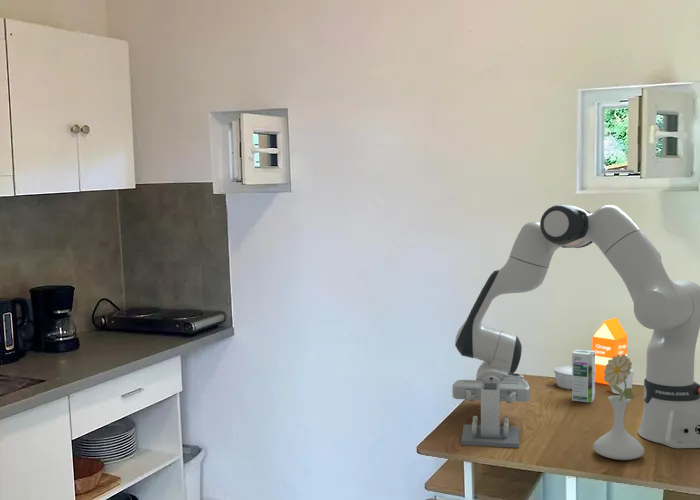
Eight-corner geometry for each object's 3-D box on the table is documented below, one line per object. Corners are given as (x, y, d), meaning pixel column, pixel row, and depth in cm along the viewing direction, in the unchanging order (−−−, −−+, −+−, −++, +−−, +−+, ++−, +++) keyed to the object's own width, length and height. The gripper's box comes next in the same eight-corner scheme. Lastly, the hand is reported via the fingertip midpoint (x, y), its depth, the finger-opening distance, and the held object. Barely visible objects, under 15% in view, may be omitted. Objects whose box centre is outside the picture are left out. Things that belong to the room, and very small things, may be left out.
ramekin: (586, 392, 235) (586, 375, 235) (549, 388, 241) (549, 371, 240) (594, 384, 245) (594, 367, 244) (559, 380, 250) (559, 364, 250)
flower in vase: (587, 447, 188) (588, 346, 186) (635, 447, 187) (637, 345, 185) (601, 467, 175) (603, 358, 173) (653, 467, 174) (655, 358, 172)
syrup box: (571, 401, 226) (571, 352, 225) (575, 396, 232) (576, 348, 230) (591, 403, 224) (592, 354, 222) (595, 398, 229) (595, 350, 228)
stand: (518, 430, 201) (518, 413, 200) (518, 447, 188) (518, 429, 188) (464, 428, 204) (464, 411, 203) (460, 444, 191) (460, 427, 191)
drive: (499, 429, 198) (499, 383, 197) (499, 437, 192) (499, 389, 191) (481, 428, 199) (481, 382, 198) (480, 436, 193) (480, 388, 192)
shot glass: (630, 396, 230) (631, 373, 230) (607, 393, 234) (607, 370, 233) (635, 390, 236) (635, 368, 235) (612, 387, 240) (612, 365, 239)
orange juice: (591, 381, 248) (592, 319, 246) (604, 376, 254) (605, 316, 252) (614, 385, 242) (615, 322, 240) (627, 380, 248) (628, 318, 246)
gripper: (453, 372, 213) (449, 385, 200) (529, 375, 209) (530, 388, 196) (453, 394, 214) (449, 409, 200) (529, 397, 210) (530, 413, 196)
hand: (490, 399), depth 198 cm, fingers open, 8 cm apart
